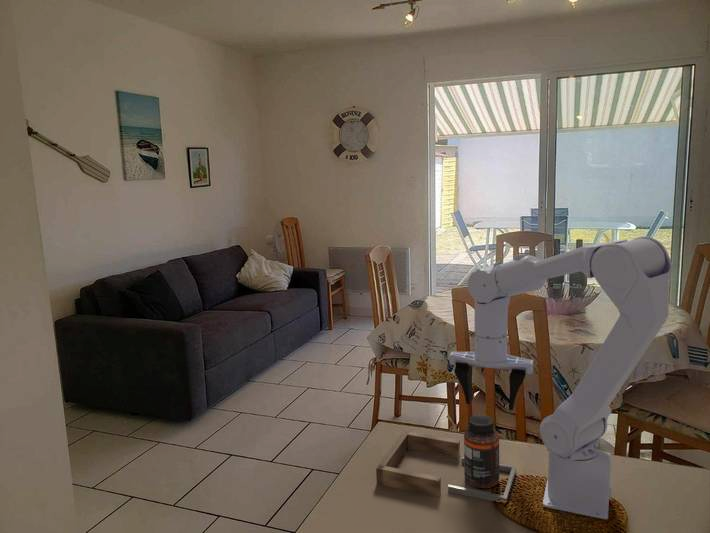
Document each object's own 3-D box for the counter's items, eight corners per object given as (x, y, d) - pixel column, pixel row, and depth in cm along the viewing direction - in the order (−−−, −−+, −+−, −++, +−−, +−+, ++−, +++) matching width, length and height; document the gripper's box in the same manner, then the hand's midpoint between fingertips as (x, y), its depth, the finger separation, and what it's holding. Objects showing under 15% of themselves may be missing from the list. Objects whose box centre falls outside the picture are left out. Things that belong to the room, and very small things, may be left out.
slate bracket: (515, 471, 98) (516, 466, 98) (506, 504, 89) (506, 498, 89) (462, 461, 102) (462, 456, 102) (448, 491, 93) (448, 486, 93)
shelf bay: (459, 454, 105) (459, 440, 104) (438, 497, 92) (438, 481, 91) (404, 444, 109) (403, 430, 109) (376, 483, 96) (376, 468, 96)
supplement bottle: (494, 470, 99) (494, 411, 97) (503, 489, 93) (504, 427, 91) (460, 471, 99) (460, 412, 97) (468, 491, 93) (468, 428, 91)
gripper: (535, 330, 99) (533, 401, 102) (455, 324, 105) (455, 391, 108) (531, 343, 93) (529, 418, 96) (446, 335, 99) (446, 406, 101)
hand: (490, 404), depth 101 cm, fingers open, 7 cm apart
